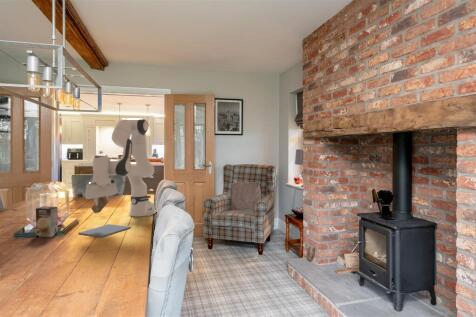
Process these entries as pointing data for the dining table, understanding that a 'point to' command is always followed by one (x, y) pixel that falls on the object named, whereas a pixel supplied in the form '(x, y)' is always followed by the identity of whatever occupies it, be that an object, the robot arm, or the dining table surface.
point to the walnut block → (102, 201)
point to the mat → (104, 230)
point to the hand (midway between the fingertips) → (101, 204)
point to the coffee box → (46, 221)
